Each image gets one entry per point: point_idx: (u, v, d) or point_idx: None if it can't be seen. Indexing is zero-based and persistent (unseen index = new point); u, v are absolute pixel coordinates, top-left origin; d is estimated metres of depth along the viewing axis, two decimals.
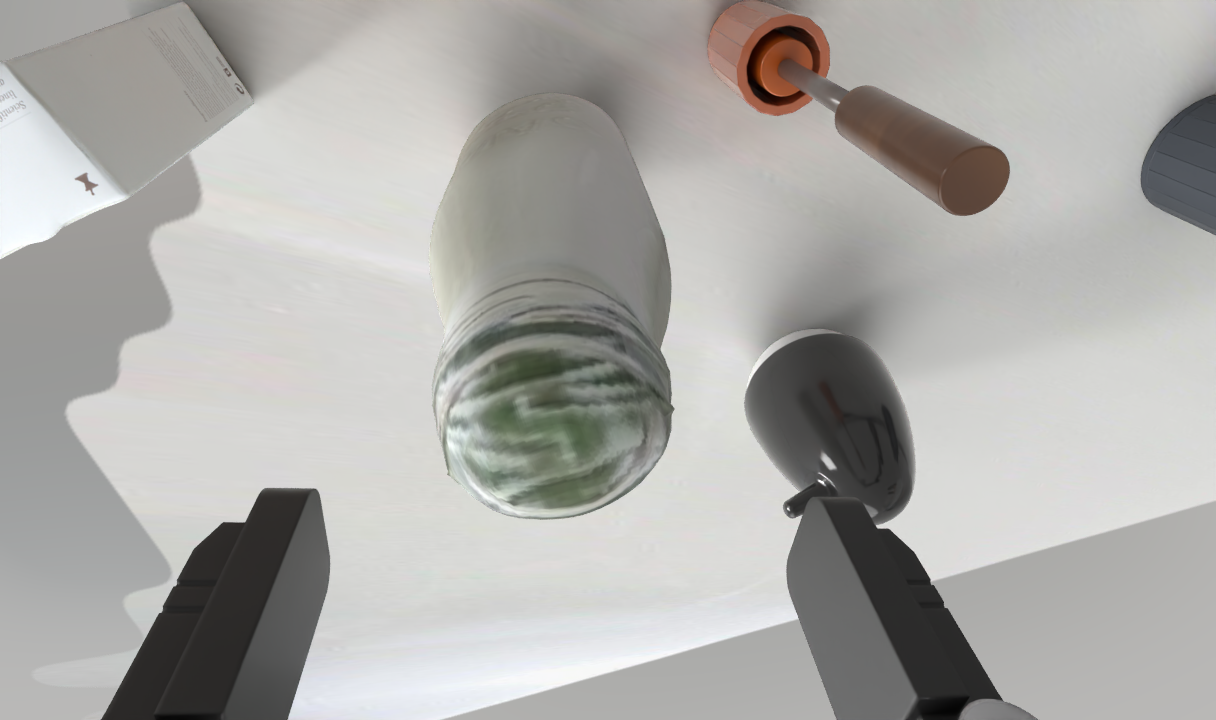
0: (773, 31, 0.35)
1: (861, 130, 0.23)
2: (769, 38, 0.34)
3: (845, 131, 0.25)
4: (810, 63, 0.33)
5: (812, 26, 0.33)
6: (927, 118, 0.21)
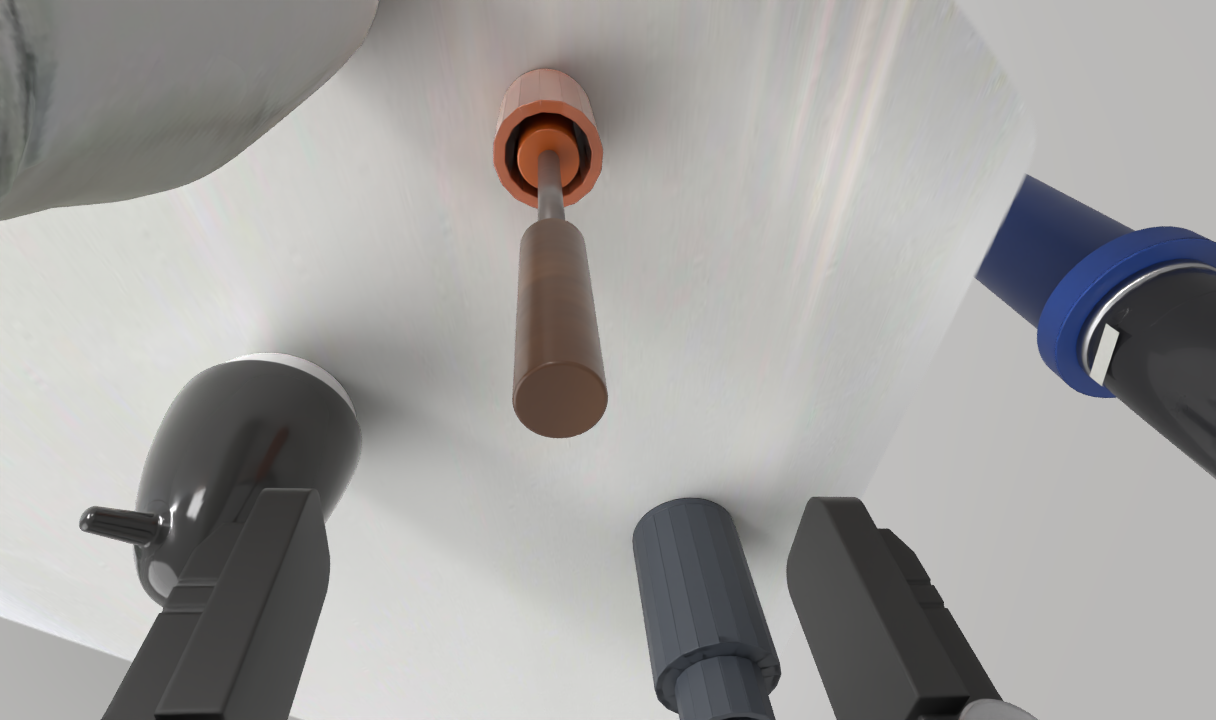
0: (572, 127, 0.31)
1: (536, 255, 0.18)
2: (563, 125, 0.29)
3: (525, 243, 0.20)
4: (567, 181, 0.29)
5: (598, 159, 0.29)
6: (589, 307, 0.17)
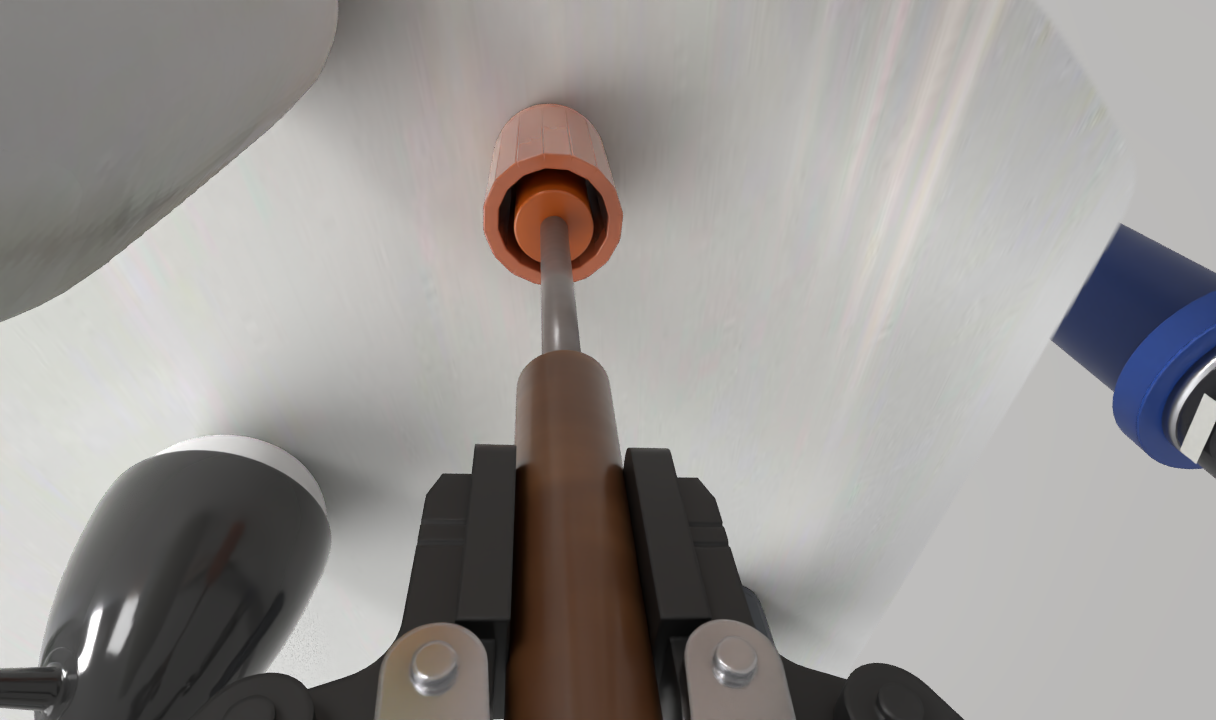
0: (583, 181, 0.24)
1: (541, 429, 0.12)
2: (573, 181, 0.23)
3: (524, 394, 0.14)
4: (577, 253, 0.23)
5: (616, 225, 0.23)
6: (627, 540, 0.10)
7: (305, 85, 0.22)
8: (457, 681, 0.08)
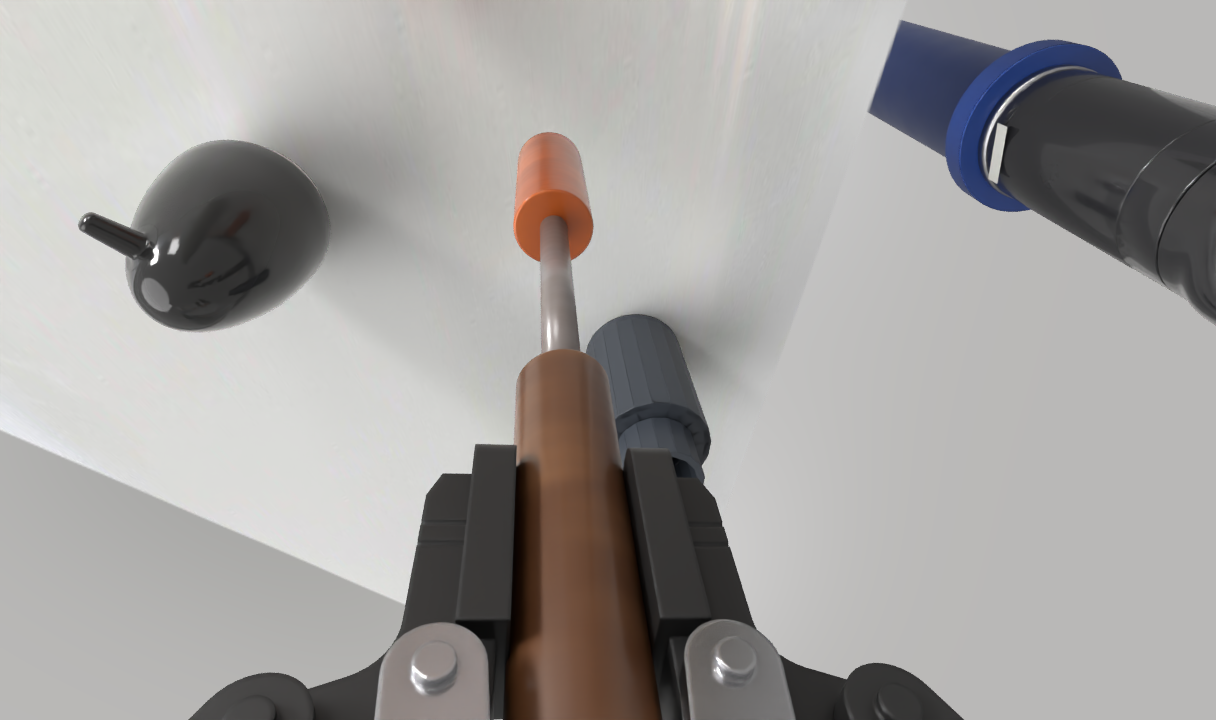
0: (582, 181, 0.24)
1: (540, 428, 0.12)
2: (572, 181, 0.23)
3: (524, 393, 0.14)
4: (577, 252, 0.23)
5: None
6: (626, 539, 0.10)
7: None
8: (457, 681, 0.08)
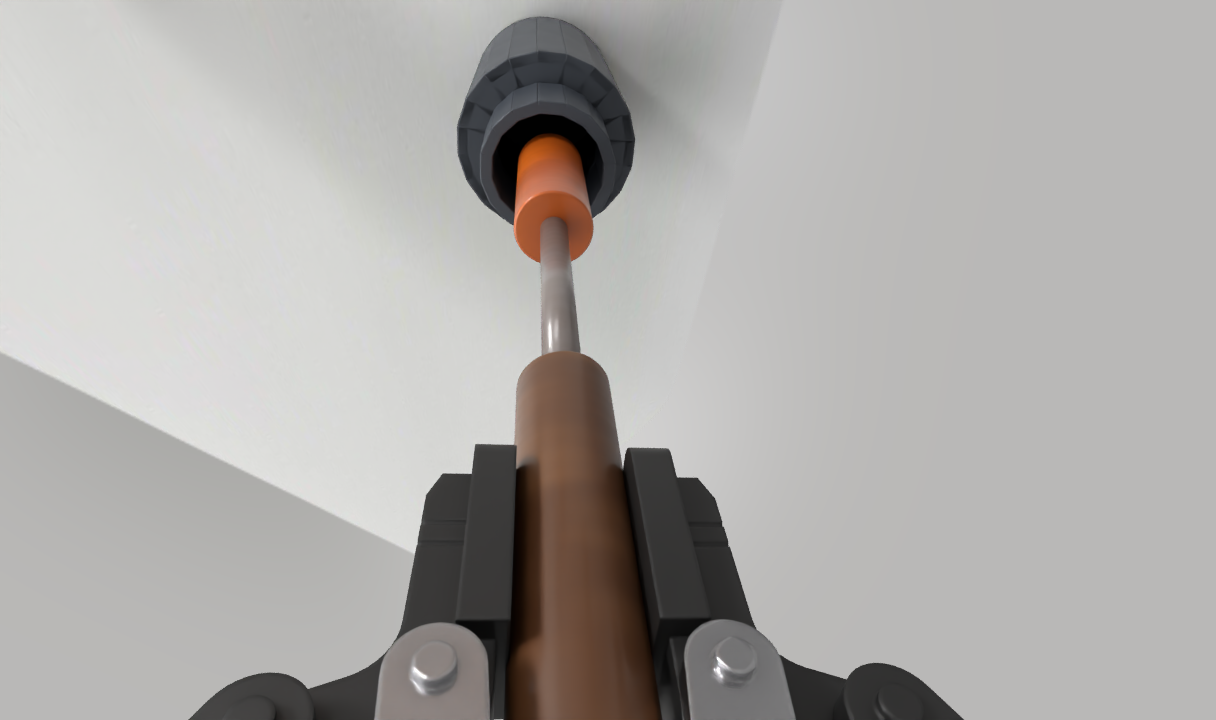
0: (583, 182, 0.24)
1: (541, 430, 0.12)
2: (573, 182, 0.23)
3: (524, 395, 0.14)
4: (577, 253, 0.23)
5: None
6: (626, 541, 0.10)
7: None
8: (457, 681, 0.08)
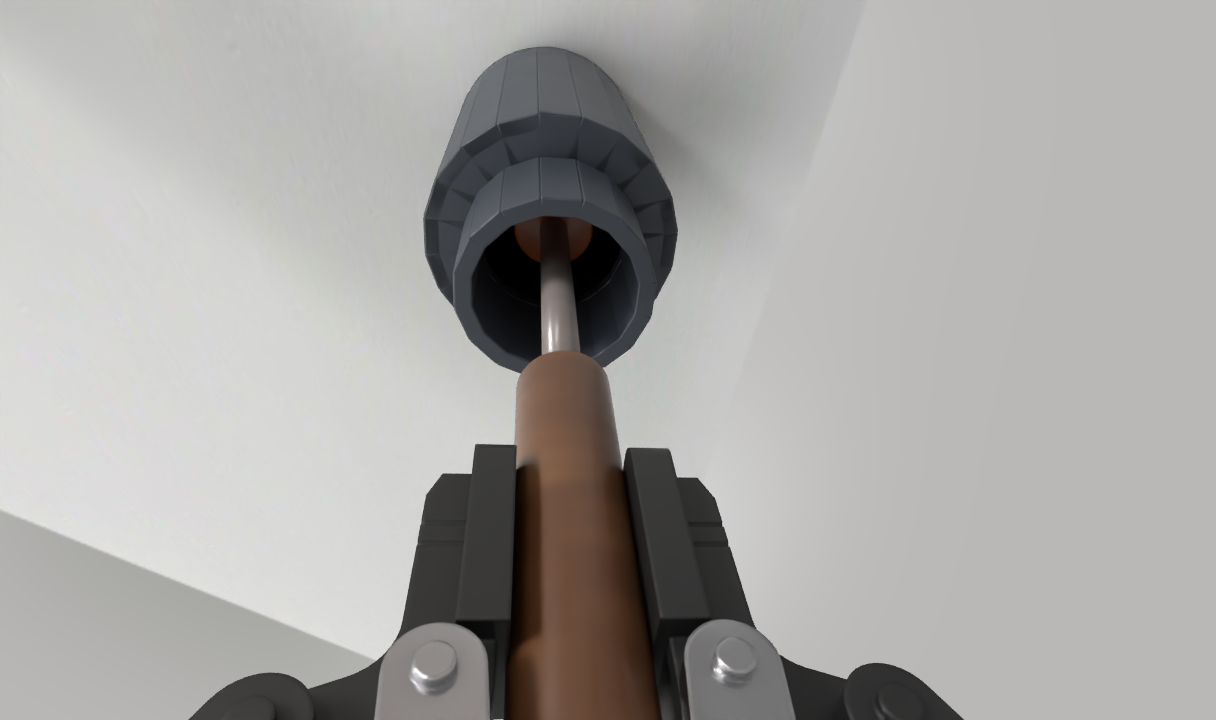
0: None
1: (541, 430, 0.12)
2: None
3: (524, 395, 0.14)
4: (577, 254, 0.23)
5: None
6: (626, 541, 0.10)
7: None
8: (457, 681, 0.08)
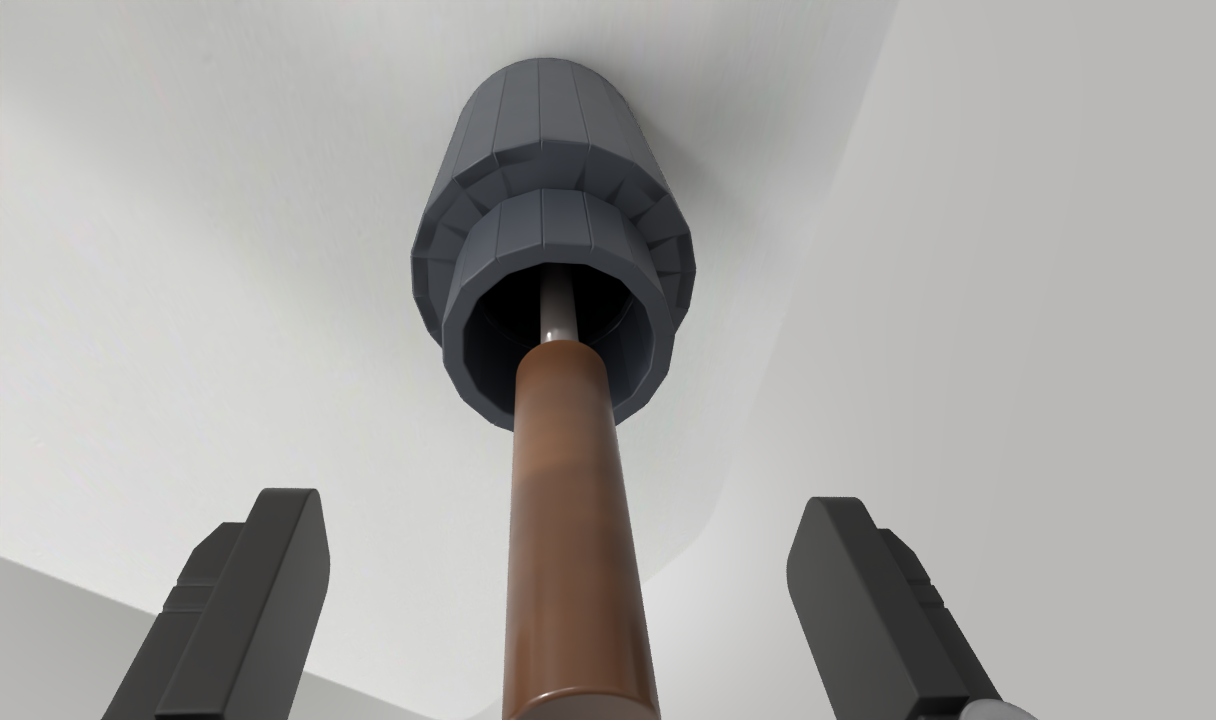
0: None
1: (539, 415, 0.13)
2: None
3: (524, 382, 0.14)
4: None
5: None
6: (622, 520, 0.11)
7: None
8: None
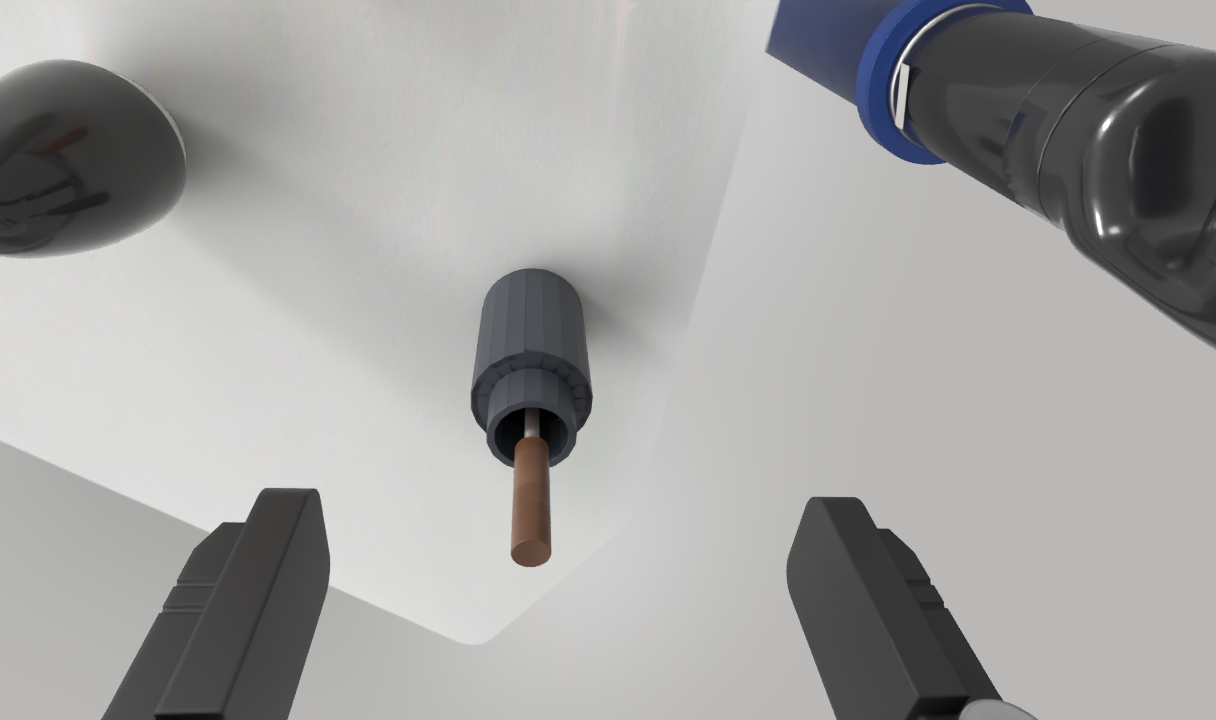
0: None
1: (522, 466, 0.38)
2: None
3: (517, 453, 0.39)
4: None
5: None
6: (546, 500, 0.36)
7: None
8: None
